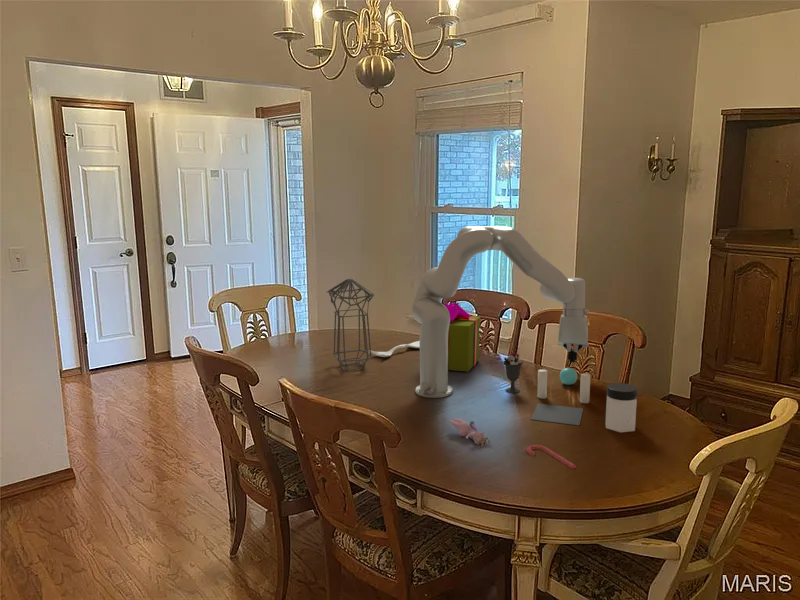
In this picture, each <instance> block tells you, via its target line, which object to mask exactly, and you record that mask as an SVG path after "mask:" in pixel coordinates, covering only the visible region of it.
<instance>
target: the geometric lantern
mask: <svg viewBox="0 0 800 600" xmlns="http://www.w3.org/2000/svg"><path fill="white" fill-rule="evenodd" d="M354 285H355V286H356V287H357V288H355V286H354ZM361 291H363V292H364V294H365V295H363V296H358V294H359V293H360V292H361ZM326 293H328V294H329V297H330V303H331V304H332V305H333V306H334V309H335V311H333V313H334V327H333V329H334V331H333V334H334V335H333V356H334V357H335V359H336V360H337V362H338V363H339V368H341V369H342V370H343V371H345V372H346V371H355V370H362V369H365V368H366V363H367V361H369V360H370V359H372V354H371V351H372V349H371V336H370V335H371V334H370V322H369V302H370V301H371V300H372V299H373V298H374V296H375V293H373V292H372V291H370V290H369V289H367V288H366V287H365V286H363V285H362V284H360V283H359V282H357V281H356V280H354V279H353V278H346V279H345V280H343V281H342V282H340V283H337V285H335V286H334V287H332V288H330V289H329V290H328V291H326ZM345 293H348V296H345ZM352 293H354V294H353V295H352ZM363 298H364V299H363ZM337 299H340V300H341V301H340V304H339V306H338V309H337V305H336V300H337ZM358 299H362V300H360V301H359V302H358ZM346 300H348V301H346ZM351 300H352V301H353V302H354V303H353V304H352V303H351V302H350V301H351ZM343 302H344V303H346V304H347V305H349V306H348V308H346V309H344V310H343V309H342V310H340V309H341V307H342V303H343ZM363 302H364V303H363ZM362 303H363V305H362V307H361V306H360V304H362ZM366 303H367V311H365V310H364V307H365V305H366ZM353 306H354V307H355V306H357V307H358V308H354V309H353V308H352V309H351V307H353ZM350 311H358V315H356V314H355V315H346V314H347V312H350ZM341 312H344V314H343V315H340V313H341ZM351 317H353V318H354V317H358V349H354V350H346V344H345V322H344V321H345V320H344V318H351ZM361 317H362V318H361ZM361 319H362V320H361ZM341 321H342V342H343V343H342V344H343V351H340V350H341V349H340V348H341V347H340V346H341V345H340V343H341V340H340V339H341ZM361 321H362V331H363V343H364V344H363V345H364V349H361ZM366 326H367V327H366ZM336 327H337V328H336ZM336 332H337V333H336ZM336 334H337V337H336ZM367 336H368V337H367ZM367 338H368V339H367ZM336 339H337V341H336ZM336 342H337V344H336ZM368 347H369V350H368ZM368 351H370V353H368ZM353 352H357V354H356V357H353V358H351V357H350V358H346V353H353ZM360 352H362V354H361V355H360V356H359V353H360ZM340 354H343V359H342V358H341V357H340ZM364 354H366V358H361V357H362V356H363V355H364ZM360 361H361V362H362V363H361V362H360ZM347 362H348V363H347ZM349 362H350V363H349ZM344 363H345V364H344ZM359 365H360V366H362V367H357V368H351V369H349V367H350V366H359ZM342 366H344V367H342Z"/></svg>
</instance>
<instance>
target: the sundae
mask: <svg viewBox="0 0 800 600" xmlns="http://www.w3.org/2000/svg"><path fill="white" fill-rule="evenodd" d="M518 351H519V347H516V350H515V351H514V352H512V353H511V354H509V355H507V357H504V358H503V361H502V362H503V363H502V364H503V365H504V366H505V371H506V373H505V375H506V378H507V379H508V380H509V381H510V387H507V388H506V389H505V390H504V391H505V392H506V393H509V394H518V392H519V393H520V392H521V390H520V389H518V388H516V386H515V385H516V384H515V382H516V381H517V380H519V378H520V374H521V367H522V365H523V364H524V362H522V359H521V358H520V355H519V354H518Z"/></svg>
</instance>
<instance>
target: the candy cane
mask: <svg viewBox="0 0 800 600" xmlns="http://www.w3.org/2000/svg"><path fill="white" fill-rule="evenodd" d="M533 450H541V451H543V452H544V453H546V454H547V455H549V456H551V457H552V458H554V459H556V460H558V462H561V463H563V464H564V465H565V466H568V467H569V468H571V469H574V470H575V469H576V468H577V466H576V465H575V463H573V462H571V461H570V460H567V459H566V458H565V457H563V456H561V455H559V454H557V453H556V452H555V451H553V450H551V449H550V448H548V447H547V446H545V445H540V444H530V445H528V446H527V447H526V448H525V453H527V454H528V455H530V456H532V457H533V456H536V452H535V451H533Z"/></svg>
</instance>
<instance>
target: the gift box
mask: <svg viewBox="0 0 800 600" xmlns="http://www.w3.org/2000/svg"><path fill="white" fill-rule="evenodd" d="M444 305H445V306H446V308H447V309H448V311H449V314H450V324H449V331H448V371H457V372H458V371H459V372H470V370H471V369H472V368H474V367H475V366H477V365H476V364H477V363H478V361H479V360H480V328H481V316H476V315H475V316H474V315H472V314H469V313H468V311H466V310H465V309H464V308H463V307H462V306H461V305H460V303H459V302H456V303H452V301H449V303H444Z"/></svg>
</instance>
